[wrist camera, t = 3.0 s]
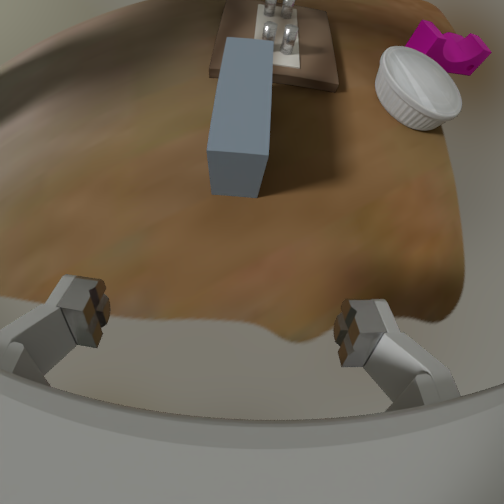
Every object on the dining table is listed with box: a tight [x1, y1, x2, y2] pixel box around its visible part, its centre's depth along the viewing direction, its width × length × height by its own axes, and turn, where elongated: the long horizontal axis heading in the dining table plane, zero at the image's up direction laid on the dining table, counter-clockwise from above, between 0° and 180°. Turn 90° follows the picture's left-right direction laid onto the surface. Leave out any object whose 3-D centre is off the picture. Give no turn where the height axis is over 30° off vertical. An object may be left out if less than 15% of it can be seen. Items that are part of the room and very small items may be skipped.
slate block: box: [207, 37, 274, 198], centre depth 24 cm, size 4×12×8 cm, turn 176°
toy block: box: [405, 20, 491, 76], centre depth 30 cm, size 15×6×8 cm, turn 108°
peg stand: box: [209, 0, 339, 93], centre depth 28 cm, size 14×16×6 cm
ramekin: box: [375, 46, 462, 131], centre depth 28 cm, size 11×11×5 cm
